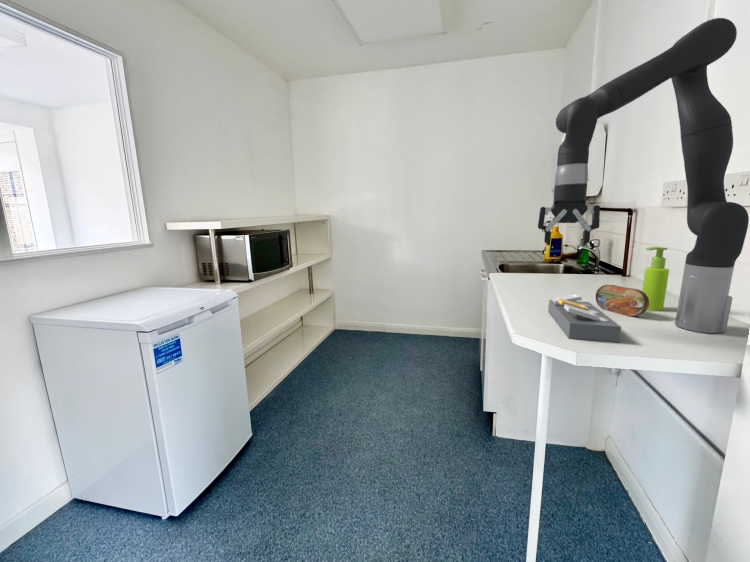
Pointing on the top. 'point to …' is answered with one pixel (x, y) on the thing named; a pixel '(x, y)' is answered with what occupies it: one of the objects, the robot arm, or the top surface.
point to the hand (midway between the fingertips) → (565, 245)
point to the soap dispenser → (656, 280)
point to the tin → (622, 300)
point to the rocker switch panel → (585, 324)
